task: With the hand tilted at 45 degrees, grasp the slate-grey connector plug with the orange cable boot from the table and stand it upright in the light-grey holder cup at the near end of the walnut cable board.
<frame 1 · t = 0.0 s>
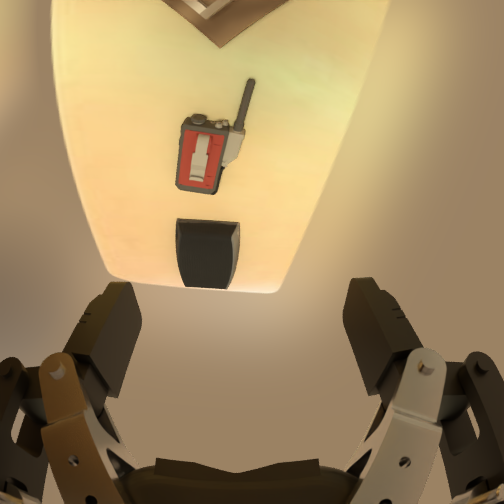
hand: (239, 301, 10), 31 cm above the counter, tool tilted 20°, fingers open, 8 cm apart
external hard drive: (207, 250, 58), on the counter
walkie-talkie: (212, 134, 37), on the counter
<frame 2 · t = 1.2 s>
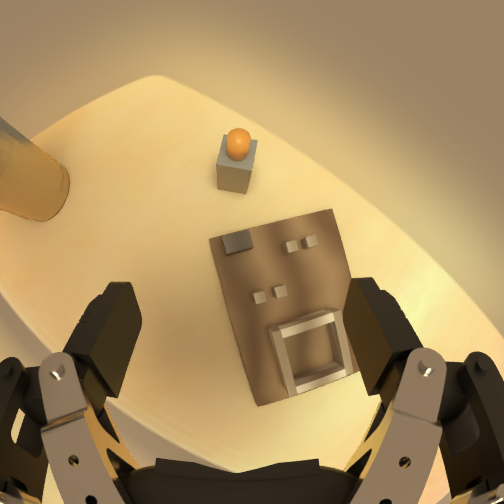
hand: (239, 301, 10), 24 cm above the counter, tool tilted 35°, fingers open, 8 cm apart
cable board: (295, 309, 34), on the counter
connector plug: (234, 178, 35), on the counter
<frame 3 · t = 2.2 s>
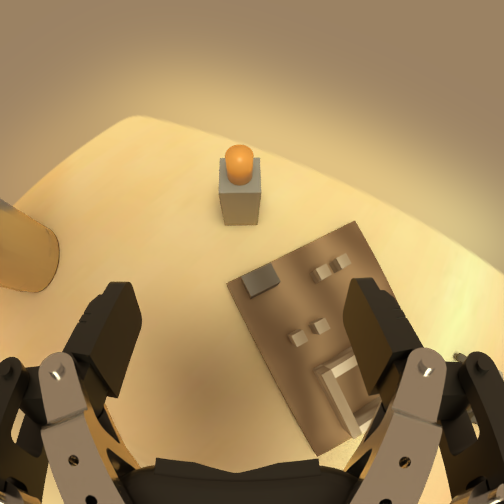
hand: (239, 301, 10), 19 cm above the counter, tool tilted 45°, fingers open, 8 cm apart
cable board: (339, 341, 28), on the counter
connector plug: (240, 210, 31), on the counter
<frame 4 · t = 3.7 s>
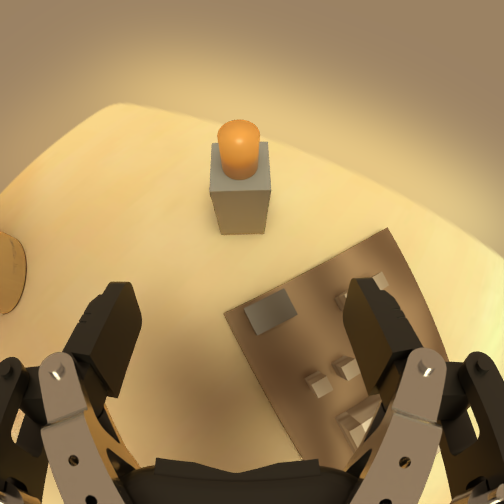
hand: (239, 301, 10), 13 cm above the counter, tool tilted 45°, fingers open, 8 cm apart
cable board: (367, 380, 20), on the counter
connector plug: (242, 214, 24), on the counter
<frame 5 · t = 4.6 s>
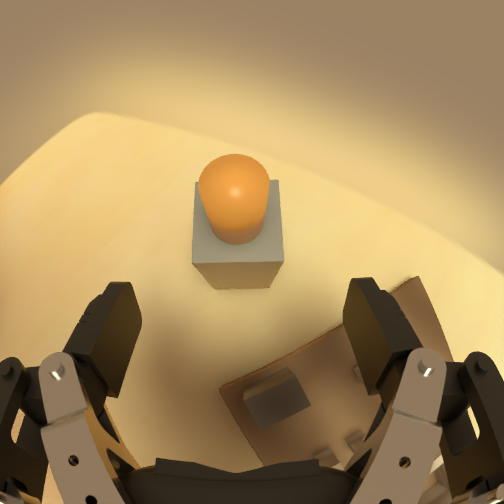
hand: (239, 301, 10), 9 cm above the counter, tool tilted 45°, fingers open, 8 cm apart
cable board: (382, 447, 15), on the counter
connector plug: (241, 262, 19), on the counter
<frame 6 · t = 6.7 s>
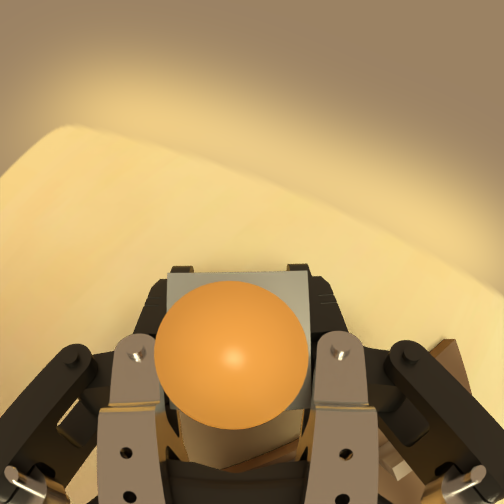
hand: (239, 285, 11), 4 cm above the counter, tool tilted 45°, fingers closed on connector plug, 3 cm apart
connector plug: (243, 333, 14), on the counter, touching gripper
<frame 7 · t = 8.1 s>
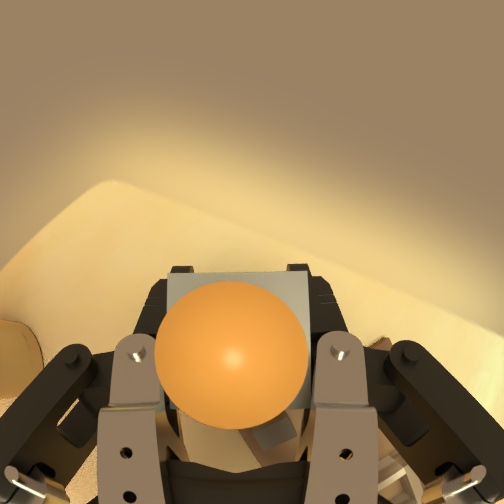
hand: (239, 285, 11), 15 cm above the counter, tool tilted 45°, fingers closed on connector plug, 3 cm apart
cable board: (355, 461, 20), on the counter
connector plug: (243, 333, 14), point 10 cm above the counter, touching gripper
when the fingers open (7 cm above the counter, at t = 12.7 s): connector plug drops 1 cm, resting on cable board.
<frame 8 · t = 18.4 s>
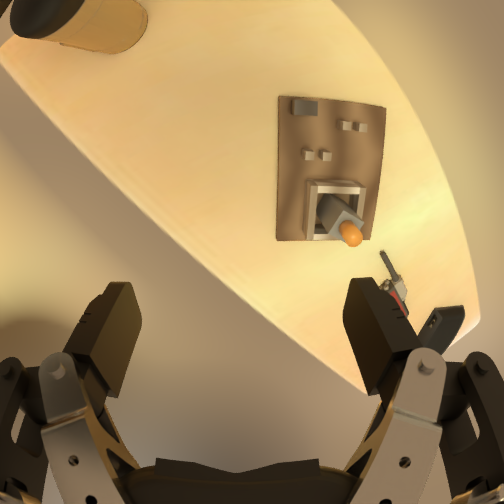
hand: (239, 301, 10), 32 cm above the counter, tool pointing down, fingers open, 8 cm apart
cable board: (330, 171, 39), on the counter
external hard drive: (433, 331, 61), on the counter
walkie-talkie: (383, 290, 52), on the counter
connector plug: (329, 205, 41), point 1 cm above the counter, touching cable board
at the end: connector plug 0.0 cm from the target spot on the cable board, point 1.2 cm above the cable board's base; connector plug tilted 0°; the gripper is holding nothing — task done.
